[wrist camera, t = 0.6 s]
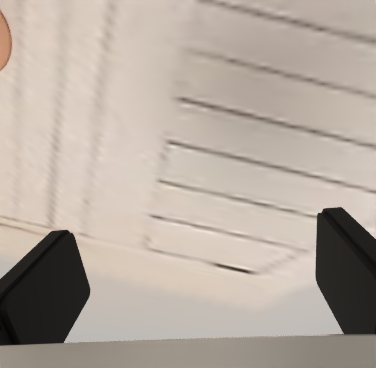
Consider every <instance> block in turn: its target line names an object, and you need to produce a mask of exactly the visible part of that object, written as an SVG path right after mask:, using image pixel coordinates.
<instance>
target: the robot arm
mask: <svg viewBox="0 0 376 368" xmlns="http://www.w3.org/2000/svg"><path fill="white" fill-rule="evenodd" d="M316 281H317V284H318V286H319V288H320V290H321V292H322V294H323V296H324V298H325V300H326V301H327V303H328V305H329V307H330V309H331V311H332V313H333V314H334V316H335V318H336V320H337V322H338V324H339V326H340V328H341V329H342V331H343V333H344V334H329V335H295V336H259V337H226V338H197V339H167V340H138V341H110V342H83V343H82V342H80V343H64V341H65V339H66V337H67V336H68V334H69V332H70V330H71V328H72V327H73V325H74V323H75V321H76V320H77V318H78V316H79V314H80V312H81V310H82V309H83V307H84V305H85V304H86V302H87V300H88V298H89V295H90V287H89V283H88V280H87V276H86V273H85V270H84V266H83V263H82V260H81V257H80V253H79V250H78V247H77V243H76V240H75V237H74V235H73V234H72V233H70V232H69V231H68V230H59V231H52V232H50V233H49V234H48V235H47V236H46V237H45V238H44V239H43V240H42V241H41V242H39V243H38V244H37V245H36V246H35V247H34V248H33V249H32V250H31V251H30V252H29V253H28V254H27V255H26V256H25V257H23V258H22V259H21V260H20V261H19V262H18V263H17V264H16V265H15V266H14V267H13V268H12V269H11V270H10V271H9V272H8V273H6V274H5V275H4V276H3V277H2V278H1V279H0V368H376V239H375V238H374V237H373V236H372V235H371V234H370V233H369V232H367V231H366V230H365V229H364V228H363V227H362V226H361V225H360V224H359V223H358V222H357V221H356V220H355V219H354V218H353V217H351V216H350V215H349V214H348V213H347V212H346V211H345V210H344V209H343V208H341V207H338V208H326V209H323V211H322V213H318V215H317V241H316Z"/></svg>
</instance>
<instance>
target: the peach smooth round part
mask: <svg viewBox="0 0 376 368" xmlns="http://www.w3.org/2000/svg"><path fill="white" fill-rule="evenodd" d="M10 52H11V36H10V31H9V28H8V25H7V23H6V20H5V18H4V17H3V15H2V13H1V12H0V70H1V69H2V68H3V67H4V66H5V65H6V63H7V61H8V59H9V56H10Z"/></svg>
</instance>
